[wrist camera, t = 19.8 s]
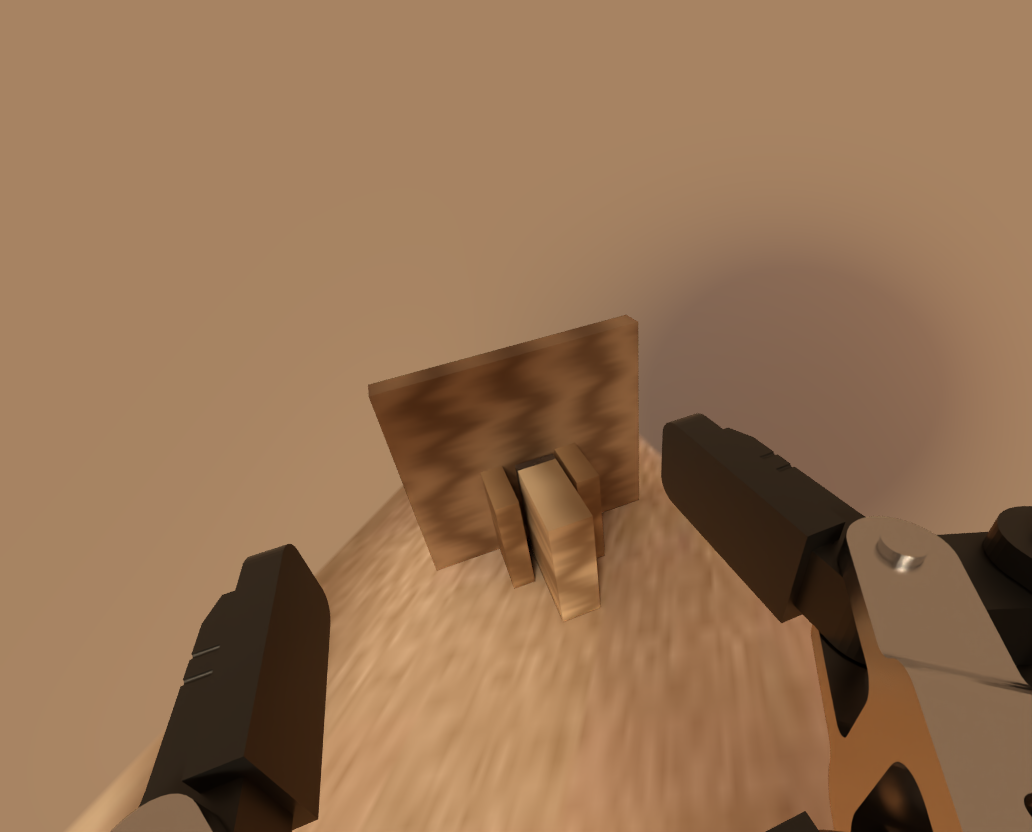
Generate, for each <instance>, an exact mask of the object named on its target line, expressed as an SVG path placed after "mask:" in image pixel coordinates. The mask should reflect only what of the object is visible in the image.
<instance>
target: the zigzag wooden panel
mask: <svg viewBox="0 0 1032 832" xmlns="http://www.w3.org/2000/svg"><path fill="white" fill-rule="evenodd" d="M368 390H369V398H370V401H371V404H372V406H373V409H374V411H375V413H376V416H377V419H378V421H379V424H380V426H381V429H382V432H383V434H384V437H385V439H386V442H387V444H388V447H389V449H390V452H391V455H392V457H393V460H394V462H395V465H396V467H397V470H398V473H399V475H400V478H401V480H402V483H403V485H404V488H405V490H406V493H407V496H408V498H409V501H410V503H411V506H412V508H413V511H414V513H415V516H416V519H417V521H418V524H419V526H420V529H421V531H422V534H423V536H424V539H425V542H426V544H427V547H428V549H429V552H430V554H431V557H432V559H433V562H434V565H435V567H436V570H440V569H443V568H445V567H448V566H451V565H454V564H457V563H460V562H463V561H465V560H468V559H471V558H474V557H477V556H480V555H482V554H485V553H488V552H491V551H494V550H497V549H500V550H501V553H502V555H503V558H504V561H505V564H506V567H507V569H508V572H509V575H510V578H511V581H512V583H513V586H514V589H515V588H517V587H520V586H523V585H525V584H528V583H531V582H534V581H535V579H534V574H533V569H532V564H531V559H530V554H529V550H528V545H527V540H526V539H528V538H530V537H529V532H528V527H527V522H526V518H525V513H524V508H523V503H522V498H521V493H520V488H519V483H518V478H517V473H516V468H515V465H518V464H521V463H524V462H527V461H530V460H533V459H537V458H540V457H543V456H546V455H549V454H553V455H554V457H555V458H556V460H557V461H558V463H559V465H560V466H561V468H562V469H563V471H564V472H565V474H566V475H567V477H568V478H569V480H570V482H571V483H572V485H573V486H574V488H575V489H576V491H577V492H578V494H579V495H580V497H581V499H582V500H583V502H584V503H585V505H586V506H587V508H588V509H589V511H590V512H591V514H592V516H593V525H594V537H595V549H596V558H599V557H601V556H604V540H603V525H602V512H605V511H608V510H611V509H613V508H616V507H619V506H622V505H625V504H628V503H630V502H633V501H636V500H639V429H638V428H639V426H638V425H639V424H638V322H637V321H636V320H634V319H632V318H631V317H629V316H627V315H624V316H620V317H616V318H612V319H609V320H605V321H602V322H598V323H594V324H590V325H587V326H583V327H579V328H576V329H572V330H568V331H565V332H561V333H557V334H553V335H550V336H546V337H542V338H539V339H535V340H532V341H528V342H525V343H521V344H517V345H513V346H509V347H506V348H502V349H498V350H495V351H491V352H488V353H484V354H480V355H476V356H473V357H469V358H465V359H462V360H458V361H454V362H450V363H447V364H443V365H440V366H436V367H432V368H429V369H425V370H421V371H417V372H414V373H410V374H407V375H403V376H399V377H395V378H392V379H388V380H384V381H381V382H377V383H373V384H370V385H368Z"/></svg>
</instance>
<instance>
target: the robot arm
mask: <svg viewBox="0 0 1032 832" xmlns="http://www.w3.org/2000/svg"><path fill="white" fill-rule="evenodd" d="M661 477H662V483H663V486H664V489H665V491H666V493H667V495H668V497H669V499H670V500H671V501H672V503H673V504H674V505H675V506H676V507H677V508H678V509H679V510H680V511H681V513H682V514H683V515H684V516H685V517H686V518H687V519H688V520H689V521H690V523H691V524H692V525H693V526H694V527H695V528H696V529H697V530H698V531H699V532H700V534H701V535H702V536H703V537H704V538H705V539H706V540H707V541H708V542H709V544H710V545H711V546H712V547H713V548H714V549H715V550H716V551H717V552H718V554H719V555H720V556H721V557H722V558H723V559H724V560H725V561H726V562H727V563H728V565H729V566H730V567H731V568H732V569H733V570H734V571H735V572H736V573H737V575H738V576H739V577H740V578H741V579H742V580H743V581H744V582H745V583H746V585H747V586H748V587H749V588H750V589H751V590H752V591H753V592H754V593H755V594H756V596H757V597H758V598H759V599H760V600H761V601H762V602H763V603H764V604H765V606H766V607H767V608H768V609H769V610H770V611H771V612H772V613H773V614H774V616H775V617H776V618H777V619H778V620H779V621H780V622H781V623H783V622H785V621H788V620H790V619H792V618H795V617H797V616H799V615H802V614H803V615H804V616H805V617H806V618H807V619H808V620H809V621H810V622H811V623H812V624H813V625H812V628H811V639H812V645H813V650H814V656H815V661H816V667H817V673H818V678H819V684H820V689H821V695H822V700H823V706H824V712H825V717H826V723H827V728H828V734H829V741H830V763H829V774H828V786H829V800H830V808H831V814H832V820H833V827H834V831H832V830H818V829H817V827H816V826H815V825H814V823H813V822H812V820H811V819H810V817H809V816H808V814H807V813H806V811H804V812H802V813H801V814H799V815H797V816H795V817H793V818H791V819H789V820H787V821H785V822H783V823H781V824H779V825H777V826H776V827H774V828H772V829H770V830H768V831H766V832H1032V506H1022V507H1014V508H1009V509H1007V510H1005V511H1003V512H1002V513H1001V514H999V516H998V518H997V520H996V521H995V522H994V524H993V526H992V527H991V529H990V531H989V532H979V533H962V534H947V535H936V534H934V533H932V532H931V531H929V530H927V529H925V528H923V527H921V526H918V525H916V524H914V523H911V522H908V521H905V520H901V519H897V518H892V517H884V516H871V517H865V516H863V515H862V514H860V513H859V512H857V511H856V510H855V509H853V508H852V507H850V506H849V505H848V504H846V503H845V502H843V501H842V500H840V499H839V498H838V497H836V496H835V495H834V494H832V493H831V492H829V491H828V490H827V489H825V488H824V487H822V486H821V485H820V484H818V483H817V482H815V481H814V480H813V479H811V478H810V477H808V476H807V475H806V474H804V473H803V472H801V471H800V470H798V469H797V468H795V467H793V468H792V467H791V465H790V463H789V462H787V461H786V460H784V459H783V458H782V457H780V456H779V455H774V453H773V451H772V450H770V449H769V448H768V447H766V446H765V445H764V444H762V443H761V442H759V441H758V440H756V439H755V438H754V437H751V436H748V435H746V434H743V433H741V432H738V431H736V430H733V429H730V428H726V429H722V428H720V427H719V426H718V425H717V424H715V423H714V422H713V421H711V420H710V419H709V418H707V417H706V416H704V415H702V414H694V415H691V416H688V417H685V418H681V419H679V420H675V421H673V422H669V423H667V424H666V425H665V426H664V429H663V442H662V470H661ZM329 637H330V611H329V605H328V602H327V598H326V596H325V593H324V591H323V589H322V588H321V586H320V585H319V583H318V582H317V580H316V578H315V577H314V575H313V574H312V572H311V571H310V569H309V567H308V566H307V564H306V563H305V561H304V560H303V558H302V557H301V555H300V553H299V552H298V550H297V549H296V548H295V546H293V545H292V544H287V545H284V546H281V547H278V548H275V549H272V550H268V551H265V552H262V553H259V554H256V555H253V556H250V557H248V558H247V559H246V560H245V561H244V563H243V566H242V569H241V573H240V576H239V580H238V583H237V587H236V590H235V591H233V592H230V593H227V594H224V595H222V596H221V598H220V599H219V600H218V602H217V603H216V605H215V606H214V607H213V609H212V610H211V612H210V613H209V614H208V616H207V617H206V619H205V620H204V622H203V623H202V625H201V628H200V631H199V634H198V637H197V640H196V643H195V646H194V649H193V652H192V655H193V659H191V660H190V661H189V664H188V667H187V669H186V673H185V675H184V678H183V680H184V685H183V686H181V687H180V690H179V693H178V696H177V699H176V702H175V705H174V708H173V711H172V714H171V717H170V720H169V723H168V726H167V729H166V732H165V735H164V738H163V740H162V743H161V746H160V749H159V752H158V755H157V758H156V761H155V764H154V767H153V770H152V773H151V776H150V779H149V782H148V785H147V788H146V791H145V793H144V796H143V798H142V801H141V803H140V805H139V807H138V808H137V809H136V810H135V811H133V812H132V813H131V814H129V815H128V816H127V817H126V818H125V819H123V820H122V821H121V822H120V823H119V824H118V825H117V826H116V827H115V828H114V829H113V830H112V831H111V832H292V830H294V829H296V828H299V827H301V826H303V825H306V824H308V823H310V822H313V821H315V820H317V819H318V813H319V797H320V781H321V765H322V749H323V733H324V717H325V701H326V685H327V669H328V653H329Z"/></svg>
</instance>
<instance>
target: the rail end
mask: <svg viewBox="0 0 1032 832" xmlns="http://www.w3.org/2000/svg"><path fill="white" fill-rule="evenodd" d="M515 468H516V473H517V478H518V483H519V488H520V493H521V498H522V503H523V508H524V513H525V518H526V522H527V527H528V532H529V537H530V542H531V547H532V552H533V554H534V556H535V559H536V561H537V563H538V565H539V568H540V570H541V572H542V575H543V577H544V579H545V581H546V584H547V586H548V588H549V591H550V593H551V595H552V598H553V600H554V602H555V604H556V607H557V609H558V611H559V614H560V616H561V618H562V620H563V622H565V621H567V620H570V619H572V618H575V617H577V616H580V615H583V614H585V613H588V612H590V611H593V610H595V609H598V608H600V596H599V584H598V573H597V561H596V549H595V537H594V525H593V516H592V514H591V512H590V511H589V509H588V508H587V506H586V505H585V503H584V502H583V500H582V499H581V497H580V495H579V494H578V492H577V491H576V489H575V488H574V486H573V485H572V483H571V482H570V480H569V478H568V477H567V475H566V474H565V472H564V471H563V469H562V468H561V466H560V465H559V463H558V461H557V460H556V458H555V457H554V455H553V454H549V455H546V456H543V457H540V458H537V459H533V460H530V461H527V462H524V463H521V464H518V465H515Z"/></svg>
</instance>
